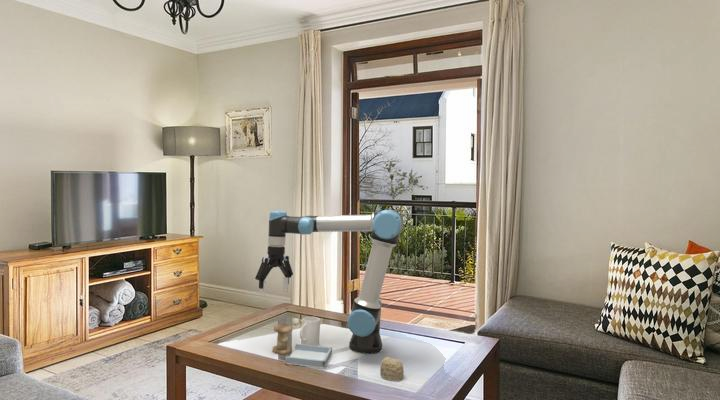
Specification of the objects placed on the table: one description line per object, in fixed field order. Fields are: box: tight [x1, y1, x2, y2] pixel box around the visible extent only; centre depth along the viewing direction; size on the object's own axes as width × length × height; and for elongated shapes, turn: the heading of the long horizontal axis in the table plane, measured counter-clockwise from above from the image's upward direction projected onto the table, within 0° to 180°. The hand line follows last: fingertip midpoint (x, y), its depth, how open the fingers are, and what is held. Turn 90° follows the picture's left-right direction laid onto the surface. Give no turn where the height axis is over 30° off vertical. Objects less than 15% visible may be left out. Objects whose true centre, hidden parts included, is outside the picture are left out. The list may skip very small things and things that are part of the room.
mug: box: [299, 316, 321, 346], centre depth 202 cm, size 12×8×12 cm
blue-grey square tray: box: [284, 343, 333, 370], centre depth 186 cm, size 16×17×3 cm
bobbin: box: [271, 324, 294, 355], centre depth 193 cm, size 8×8×10 cm
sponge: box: [379, 356, 405, 382], centre depth 174 cm, size 9×10×10 cm
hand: (273, 293), depth 198 cm, fingers open, 13 cm apart
